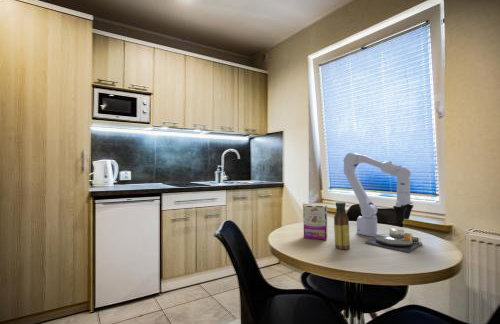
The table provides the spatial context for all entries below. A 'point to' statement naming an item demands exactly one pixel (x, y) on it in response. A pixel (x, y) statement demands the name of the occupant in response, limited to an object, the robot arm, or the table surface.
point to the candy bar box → (315, 221)
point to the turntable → (395, 240)
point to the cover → (396, 232)
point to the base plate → (407, 249)
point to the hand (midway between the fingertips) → (403, 220)
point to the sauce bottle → (341, 227)
